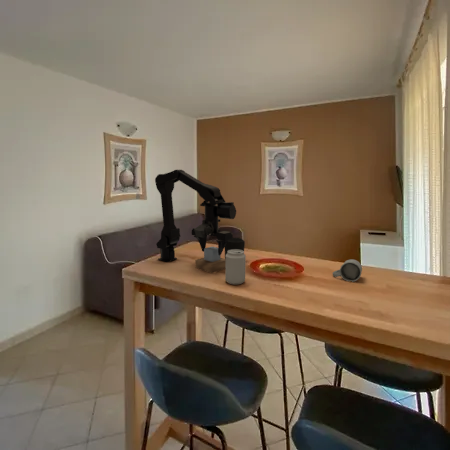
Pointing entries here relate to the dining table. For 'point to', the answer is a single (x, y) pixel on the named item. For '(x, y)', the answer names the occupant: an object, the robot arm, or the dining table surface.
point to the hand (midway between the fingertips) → (211, 253)
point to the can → (235, 267)
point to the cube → (211, 254)
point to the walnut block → (210, 265)
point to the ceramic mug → (349, 270)
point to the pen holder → (234, 245)
